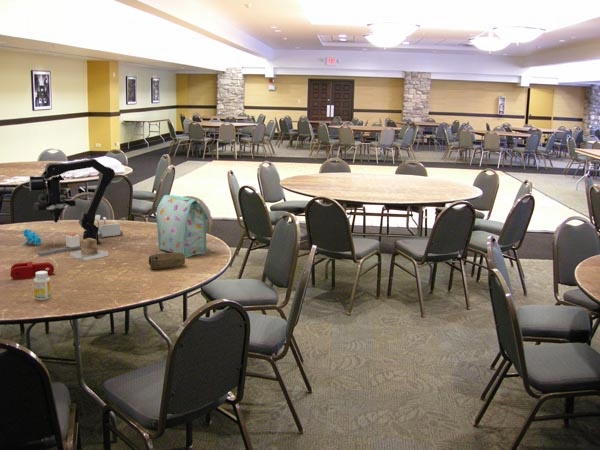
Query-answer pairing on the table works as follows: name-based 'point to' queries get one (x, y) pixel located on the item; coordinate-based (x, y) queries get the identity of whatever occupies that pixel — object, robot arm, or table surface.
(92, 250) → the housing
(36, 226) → the table surface
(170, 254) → the stone weight
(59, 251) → the rail
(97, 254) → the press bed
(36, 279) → the supplement bottle
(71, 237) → the white rectangular block
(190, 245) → the lunch bag
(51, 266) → the mechanical linkage
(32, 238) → the blue lobed piece
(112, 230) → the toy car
